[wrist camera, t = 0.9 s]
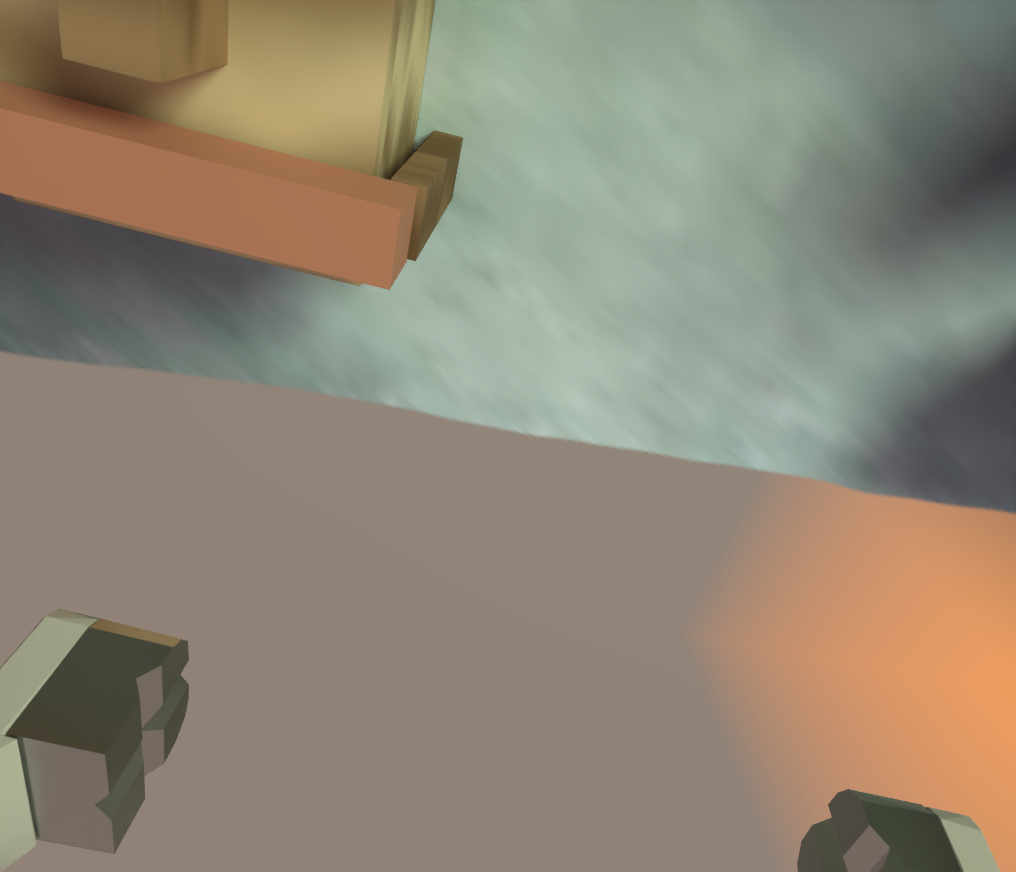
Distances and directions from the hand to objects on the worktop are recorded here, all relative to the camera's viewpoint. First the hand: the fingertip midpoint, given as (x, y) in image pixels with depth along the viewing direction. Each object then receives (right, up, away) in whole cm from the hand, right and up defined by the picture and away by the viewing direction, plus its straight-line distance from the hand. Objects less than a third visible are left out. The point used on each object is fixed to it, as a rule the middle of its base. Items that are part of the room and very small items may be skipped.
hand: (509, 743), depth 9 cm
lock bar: (-13, +14, +20) cm, 27 cm away
